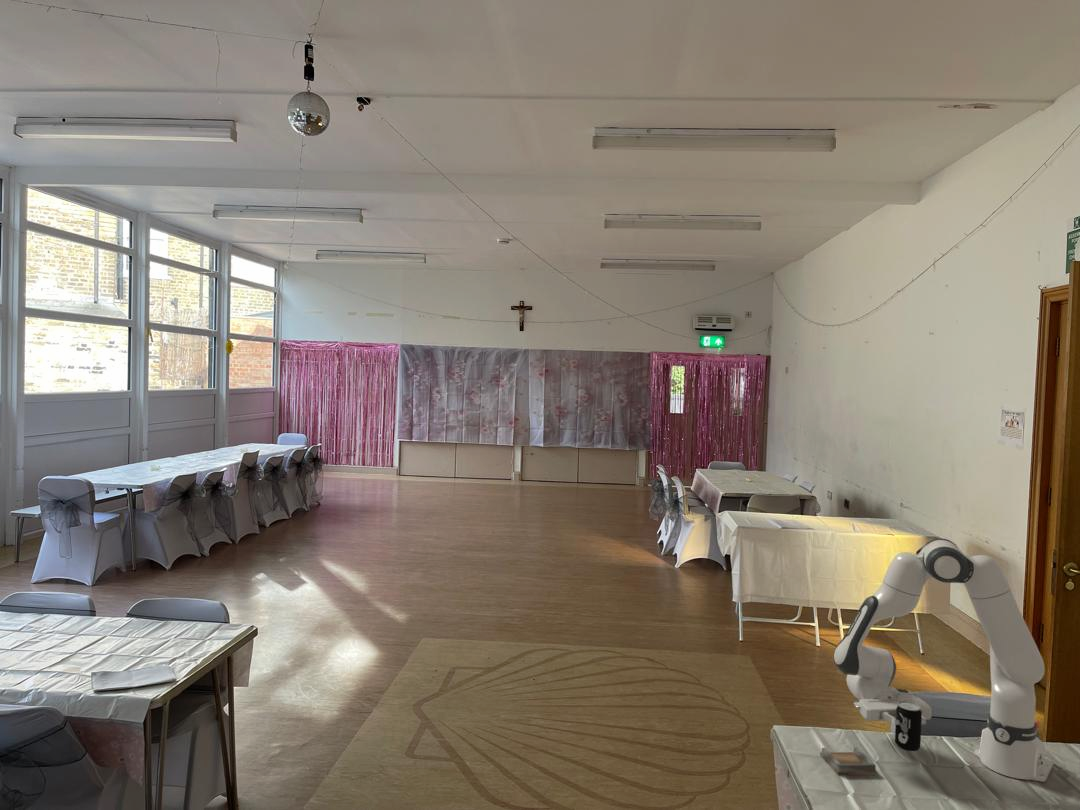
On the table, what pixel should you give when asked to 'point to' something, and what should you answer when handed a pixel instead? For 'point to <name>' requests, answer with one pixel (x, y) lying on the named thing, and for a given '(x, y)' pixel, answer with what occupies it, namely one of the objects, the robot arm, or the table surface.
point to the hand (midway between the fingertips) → (910, 722)
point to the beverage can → (908, 726)
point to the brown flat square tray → (849, 762)
